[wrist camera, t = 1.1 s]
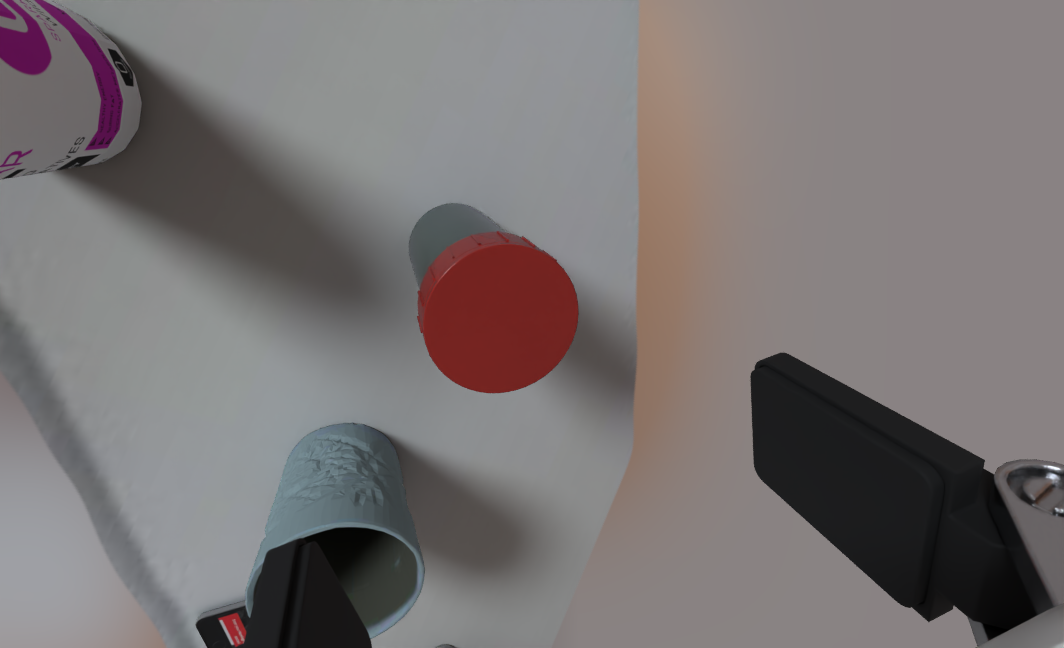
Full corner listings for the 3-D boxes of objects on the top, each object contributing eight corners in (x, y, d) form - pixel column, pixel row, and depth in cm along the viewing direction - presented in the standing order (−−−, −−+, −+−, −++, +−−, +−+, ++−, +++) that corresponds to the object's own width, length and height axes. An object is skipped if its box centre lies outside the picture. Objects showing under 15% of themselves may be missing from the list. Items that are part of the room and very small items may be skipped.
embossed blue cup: (283, 410, 37) (249, 527, 27) (419, 416, 41) (438, 521, 30) (273, 519, 40) (239, 663, 30) (401, 516, 44) (412, 643, 33)
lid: (387, 276, 24) (389, 294, 21) (527, 203, 24) (545, 213, 22) (458, 393, 27) (467, 420, 25) (579, 326, 28) (600, 346, 25)
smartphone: (192, 620, 40) (381, 564, 44) (195, 613, 41) (381, 558, 45) (222, 676, 43) (397, 619, 47) (224, 668, 44) (396, 613, 48)
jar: (391, 229, 35) (404, 293, 22) (474, 187, 35) (535, 225, 23) (435, 306, 38) (470, 402, 25) (512, 266, 38) (584, 339, 26)
